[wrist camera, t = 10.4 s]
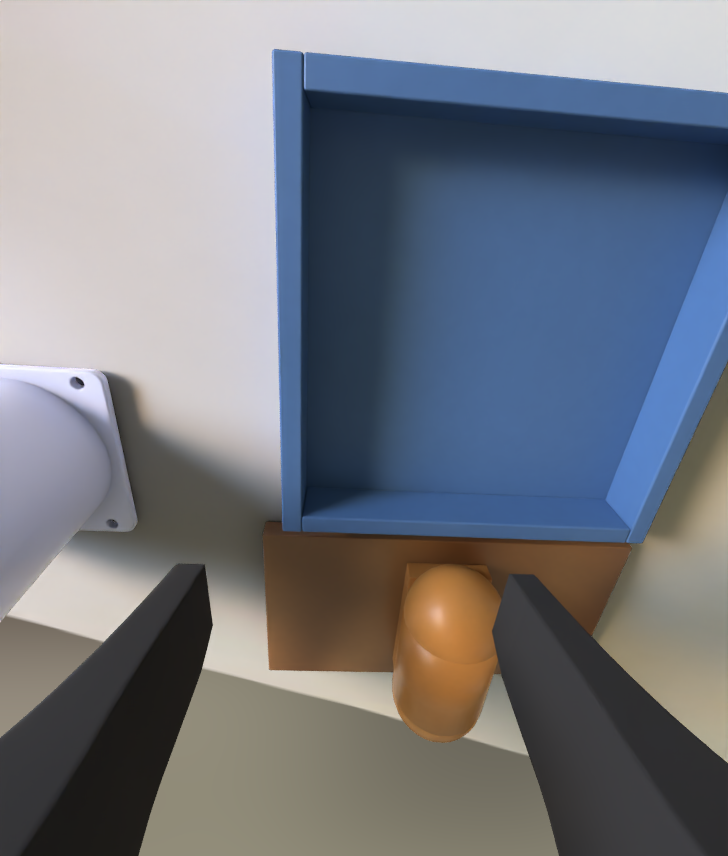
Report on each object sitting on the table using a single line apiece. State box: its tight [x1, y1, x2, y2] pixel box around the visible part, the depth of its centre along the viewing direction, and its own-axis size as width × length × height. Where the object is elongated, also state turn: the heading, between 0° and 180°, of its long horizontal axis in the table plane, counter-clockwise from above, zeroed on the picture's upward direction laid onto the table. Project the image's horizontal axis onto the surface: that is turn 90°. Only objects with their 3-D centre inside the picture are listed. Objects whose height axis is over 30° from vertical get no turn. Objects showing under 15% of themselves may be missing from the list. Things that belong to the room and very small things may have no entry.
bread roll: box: [392, 563, 501, 743], centre depth 21 cm, size 5×10×5 cm, turn 176°
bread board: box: [263, 522, 632, 674], centre depth 23 cm, size 18×10×1 cm, turn 86°
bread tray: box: [272, 49, 728, 543], centre depth 16 cm, size 16×16×3 cm
